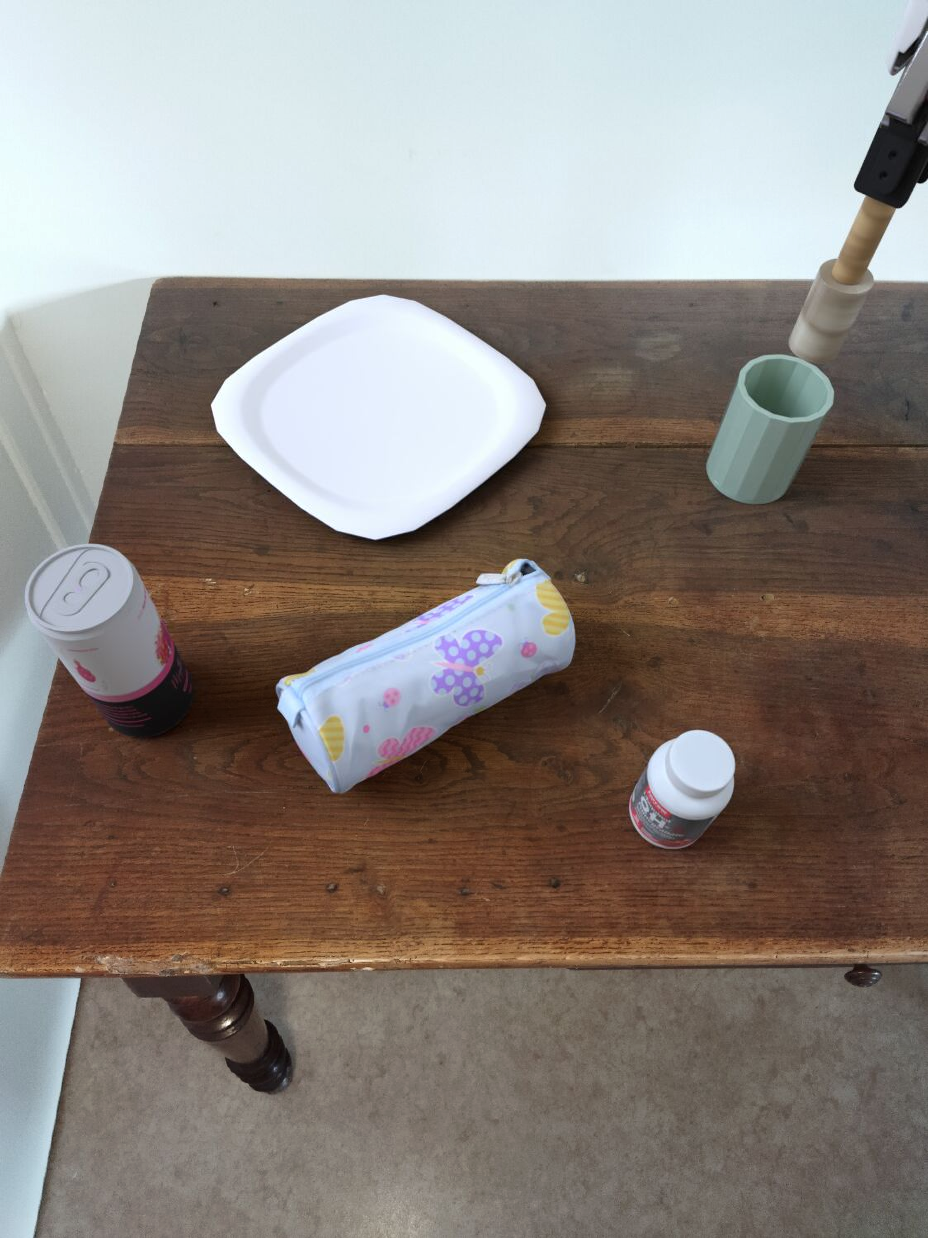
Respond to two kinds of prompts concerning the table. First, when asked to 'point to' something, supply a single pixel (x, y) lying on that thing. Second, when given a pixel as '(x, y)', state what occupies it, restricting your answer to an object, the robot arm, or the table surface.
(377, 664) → the pencil case
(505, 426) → the plate
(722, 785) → the pill bottle
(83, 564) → the beverage can
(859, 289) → the wooden rod
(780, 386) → the cup
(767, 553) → the table surface
